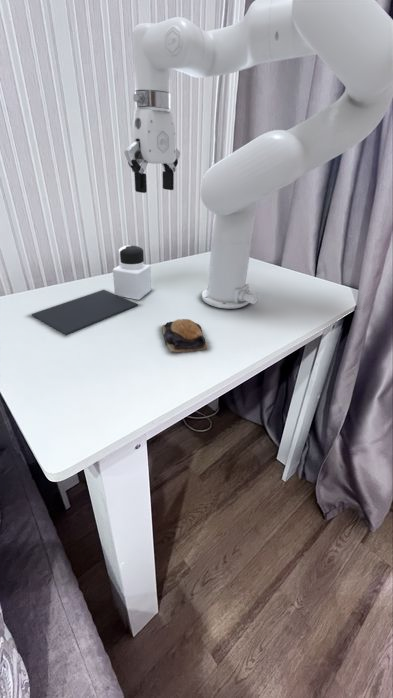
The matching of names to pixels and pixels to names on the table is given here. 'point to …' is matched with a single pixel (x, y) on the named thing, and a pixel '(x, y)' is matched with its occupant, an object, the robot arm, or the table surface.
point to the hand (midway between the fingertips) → (155, 190)
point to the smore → (183, 336)
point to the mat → (83, 311)
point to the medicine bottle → (132, 273)
